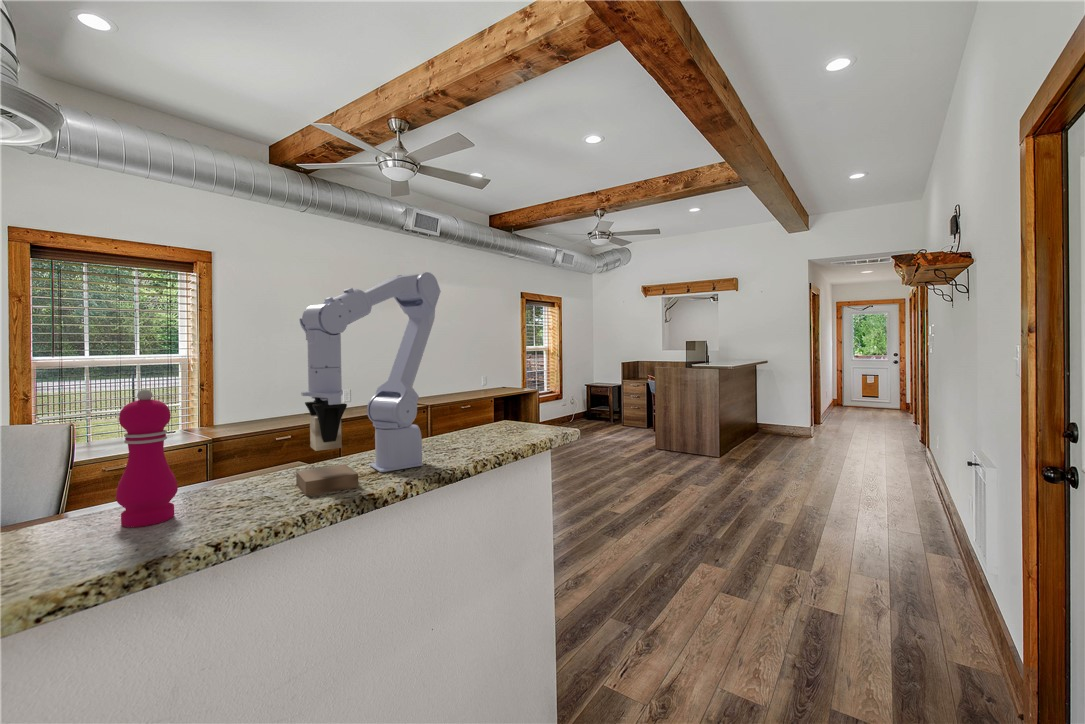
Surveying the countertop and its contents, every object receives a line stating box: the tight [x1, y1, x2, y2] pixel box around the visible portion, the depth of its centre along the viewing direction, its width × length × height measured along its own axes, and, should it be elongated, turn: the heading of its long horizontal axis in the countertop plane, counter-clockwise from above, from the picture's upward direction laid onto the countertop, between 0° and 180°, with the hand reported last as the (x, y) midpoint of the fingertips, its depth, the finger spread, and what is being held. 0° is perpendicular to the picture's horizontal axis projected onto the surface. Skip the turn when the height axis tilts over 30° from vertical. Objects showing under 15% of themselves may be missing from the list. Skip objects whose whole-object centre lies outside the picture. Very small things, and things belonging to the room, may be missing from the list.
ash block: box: [309, 414, 343, 452], centre depth 90 cm, size 4×4×6 cm
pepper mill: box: [115, 388, 179, 528], centre depth 72 cm, size 7×7×20 cm
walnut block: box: [295, 463, 359, 497], centre depth 90 cm, size 9×9×3 cm
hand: (326, 439), depth 90 cm, fingers closed on ash block, 4 cm apart
